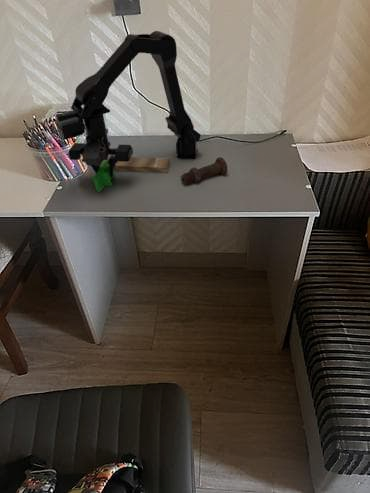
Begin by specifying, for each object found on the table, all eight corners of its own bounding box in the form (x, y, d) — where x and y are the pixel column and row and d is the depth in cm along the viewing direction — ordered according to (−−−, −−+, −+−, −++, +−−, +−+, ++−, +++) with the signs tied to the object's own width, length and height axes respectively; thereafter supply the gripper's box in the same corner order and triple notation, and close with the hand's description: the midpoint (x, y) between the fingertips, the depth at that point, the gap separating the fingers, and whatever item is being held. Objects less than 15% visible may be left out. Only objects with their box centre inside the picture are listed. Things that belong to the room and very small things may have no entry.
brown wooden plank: (170, 164, 128) (169, 158, 126) (167, 173, 123) (166, 167, 122) (102, 161, 131) (101, 155, 129) (97, 170, 126) (95, 164, 125)
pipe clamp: (108, 191, 116) (104, 178, 113) (97, 192, 117) (92, 179, 114) (118, 172, 124) (114, 159, 121) (107, 173, 125) (103, 160, 122)
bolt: (182, 188, 120) (222, 174, 124) (188, 188, 115) (229, 174, 120) (176, 171, 118) (217, 157, 123) (182, 170, 114) (224, 156, 118)
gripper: (54, 141, 104) (68, 189, 115) (119, 143, 102) (127, 192, 112) (69, 124, 112) (81, 170, 123) (129, 126, 110) (136, 172, 120)
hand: (105, 176), depth 119 cm, fingers open, 4 cm apart
